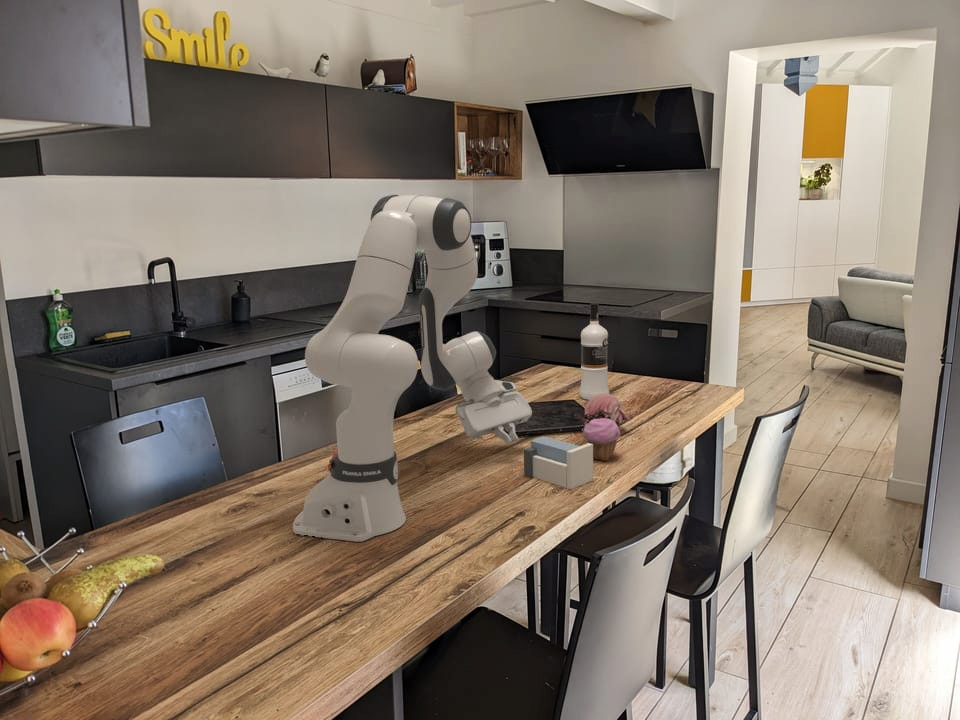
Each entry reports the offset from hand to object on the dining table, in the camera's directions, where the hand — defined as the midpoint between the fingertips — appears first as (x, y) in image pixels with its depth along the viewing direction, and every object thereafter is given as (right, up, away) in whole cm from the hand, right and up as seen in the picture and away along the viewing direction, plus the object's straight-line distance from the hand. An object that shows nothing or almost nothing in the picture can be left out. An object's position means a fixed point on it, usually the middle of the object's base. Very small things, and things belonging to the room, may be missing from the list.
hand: (513, 442), depth 189 cm
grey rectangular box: (+10, -7, -9) cm, 15 cm away
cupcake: (+22, -4, +3) cm, 23 cm away
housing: (+10, -7, -10) cm, 16 cm away
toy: (+26, 0, +22) cm, 34 cm away
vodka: (+28, +8, +58) cm, 65 cm away
